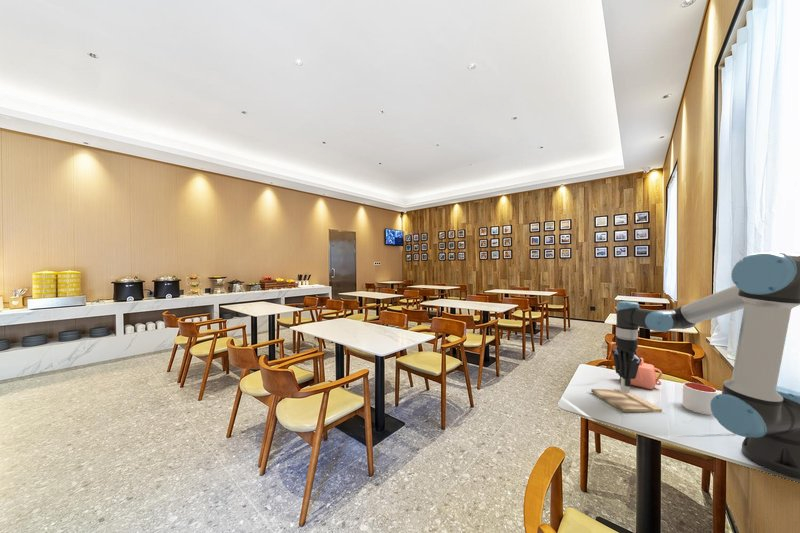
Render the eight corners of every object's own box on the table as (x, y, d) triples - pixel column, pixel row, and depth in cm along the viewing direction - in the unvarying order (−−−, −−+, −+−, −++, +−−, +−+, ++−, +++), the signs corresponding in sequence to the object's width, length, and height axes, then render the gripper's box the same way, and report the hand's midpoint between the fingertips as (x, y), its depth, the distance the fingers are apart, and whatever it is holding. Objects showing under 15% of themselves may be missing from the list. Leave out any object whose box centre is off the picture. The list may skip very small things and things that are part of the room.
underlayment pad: (665, 415, 121) (665, 410, 121) (620, 417, 120) (620, 411, 119) (624, 393, 141) (624, 388, 141) (585, 394, 139) (585, 389, 139)
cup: (723, 418, 120) (724, 393, 119) (693, 415, 122) (694, 391, 121) (703, 406, 129) (704, 383, 129) (676, 404, 131) (677, 381, 131)
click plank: (651, 412, 122) (651, 408, 122) (623, 411, 121) (623, 408, 121) (615, 392, 140) (616, 389, 140) (591, 391, 139) (591, 388, 139)
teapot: (635, 393, 142) (636, 366, 141) (611, 378, 158) (612, 354, 158) (668, 394, 141) (669, 367, 141) (641, 379, 158) (642, 355, 157)
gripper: (648, 342, 123) (646, 399, 124) (622, 334, 136) (620, 386, 137) (631, 342, 122) (629, 400, 123) (606, 334, 135) (604, 386, 136)
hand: (624, 392), depth 130 cm, fingers closed
